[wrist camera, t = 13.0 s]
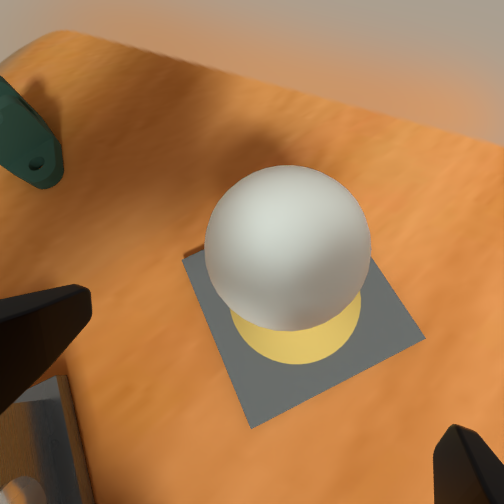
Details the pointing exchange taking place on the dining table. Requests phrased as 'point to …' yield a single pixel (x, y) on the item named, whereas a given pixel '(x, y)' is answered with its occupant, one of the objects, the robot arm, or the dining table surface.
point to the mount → (27, 141)
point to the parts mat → (303, 344)
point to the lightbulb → (287, 248)
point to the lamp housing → (43, 448)
